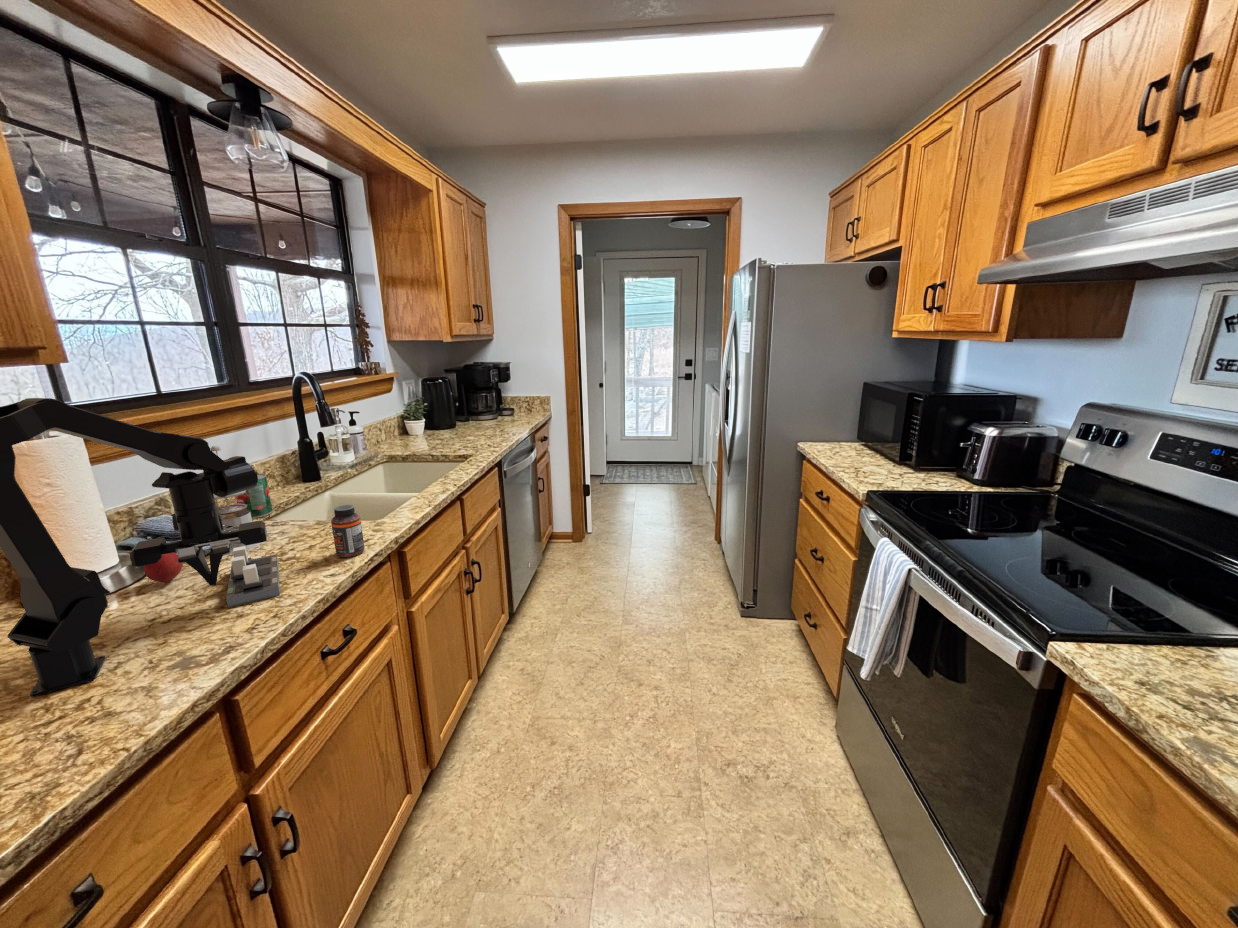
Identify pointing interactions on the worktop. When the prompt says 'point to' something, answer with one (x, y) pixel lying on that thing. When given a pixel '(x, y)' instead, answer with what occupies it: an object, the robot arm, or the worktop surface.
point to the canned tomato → (257, 498)
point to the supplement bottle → (347, 532)
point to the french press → (234, 521)
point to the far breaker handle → (242, 554)
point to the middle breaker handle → (237, 567)
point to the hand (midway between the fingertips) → (213, 584)
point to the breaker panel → (268, 589)
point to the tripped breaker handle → (251, 577)
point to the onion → (164, 568)
